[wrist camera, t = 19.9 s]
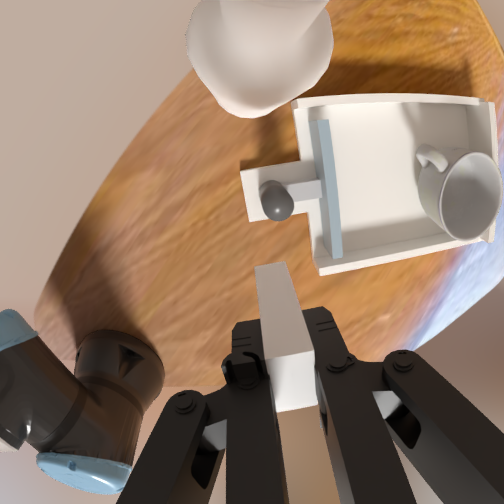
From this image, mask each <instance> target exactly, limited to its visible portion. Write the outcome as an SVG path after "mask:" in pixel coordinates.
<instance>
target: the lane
mask: <svg viewBox="0 0 504 504" xmlns="http://www.w3.org/2000/svg"><path fill="white" fill-rule="evenodd" d="M291 108H292V114H293V120H294V126H295V132H296V138H297V144H298V151H299V158H300V161H295V162H288V163H282V164H275V165H269V166H263V167H257V168H251V169H246V170H240V174H241V179H242V185H243V190H244V195H245V201H246V206H247V212H248V217H249V222H253V221H259V220H264V219H269V218H268V217H267V216H266V215H265V213H264V211H263V208H262V205H261V201H260V198H259V189H260V187H261V185H262V184H263V183H264V182H266V181H269V180H275V181H278V182H280V183H286V182H292V181H299V180H305V179H312V178H316V170H315V163H314V156H313V149H312V142H311V135H310V129H309V123H308V121H315V120H326V119H329V125H330V132H331V139H332V146H333V154H334V162H335V170H336V179H337V188H338V198H339V209H340V221H341V234H342V249H343V257H342V258H337V259H332V257H331V256H330V254H329V253H328V251H327V250H326V248H325V247H324V242H323V231H322V221H321V212H320V203H319V198H317V199H310V200H304V201H298V202H294V210H293V212H292V214H291V215H293V214H299V213H305V212H307V217H308V225H309V234H310V243H311V252H312V262H313V264H314V266H315V268H316V270H317V272H318V274H319V276H323V275H328V274H333V273H338V272H344V271H349V270H353V269H358V268H363V267H368V266H373V265H378V264H383V263H387V262H392V261H397V260H401V259H406V258H410V257H415V256H419V255H424V254H428V253H433V252H437V251H441V250H446V249H450V248H454V247H458V246H463V245H467V244H471V243H475V242H479V241H483V240H484V241H485V242H487V243H491V242H494V234H495V224H496V219H495V221H494V223H493V224H492V225H491V227H490V228H489V229H488V230H487V231H486V232H485V233H484V234H482V235H481V236H480V237H478V238H476V239H474V240H471V241H459V240H456V239H454V238H452V237H451V236H450V235H449V234H448V233H447V232H446V231H445V230H443V229H442V228H441V227H440V226H438V225H437V224H436V223H435V222H434V221H433V220H432V219H431V218H430V217H429V216H428V215H427V214H426V213H425V211H424V209H423V207H422V205H421V203H420V199H419V195H418V181H419V176H420V172H421V170H422V166H421V163H420V161H419V160H418V159H417V157H416V150H417V148H418V147H419V146H420V145H421V144H428V145H430V146H432V147H434V148H436V149H437V150H439V149H442V148H445V147H460V148H465V149H469V150H472V151H479V152H483V153H485V154H487V155H489V156H490V157H491V158H492V159H493V160H494V161H495V162H496V164H497V166H498V144H497V127H496V115H495V106H494V103H493V102H484V99H483V98H474V97H464V96H452V95H437V94H410V93H377V94H349V95H333V96H320V97H309V98H300V99H295V100H293V101H291Z"/></svg>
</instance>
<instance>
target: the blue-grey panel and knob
mask: <svg viewBox="0 0 504 504" xmlns="http://www.w3.org/2000/svg"><path fill="white" fill-rule="evenodd" d="M308 123H309V129H310V135H311V142H312V149H313V156H314V163H315V170H316V178H312V179H305V180H299V181H292V182H286V183H280V182H278V181H275V180H269V181H266V182H264V183H263V184H262V185H261V187H260V189H259V198H260V201H261V205H262V208H263V211H264V213H265V215H266V216H267V217H268V218H269V219H271V220H273V221H283V220H285V219H287V218H288V217H290V215H291V214H292V212H293V210H294V202H298V201H304V200H310V199H317V198H319V203H320V212H321V221H322V231H323V242H324V247H325V248H326V250H327V251H328V253H329V254H330V256H331V257H332V259H337V258H342V257H343V249H342V234H341V221H340V209H339V198H338V188H337V179H336V170H335V162H334V154H333V146H332V139H331V132H330V125H329V119H326V120H315V121H308Z"/></svg>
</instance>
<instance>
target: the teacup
mask: <svg viewBox="0 0 504 504" xmlns="http://www.w3.org/2000/svg"><path fill="white" fill-rule="evenodd" d="M416 157H417V159H418V160H419V161H420V163H421V166H422V170H421V172H420V176H419V181H418V195H419V199H420V203H421V205H422V207H423V209H424V211H425V213H426V214H427V215H428V216H429V217H430V218H431V219H432V220H433V221H434V222H435V223H436V224H437V225H438V226H440V227H441V228H442V229H443V230H445V231H446V232H447V233H448V234H449V235H450V236H451V237H452V238H454V239H456V240H459V241H471V240H474V239H476V238H478V237H480V236H481V235H482V234H484V233H485V232H486V231H487V230H488V229H489V228H490V227H491V225H492V224H493V223H494V221H495V219H496V217H497V215H498V213H499V210H500V207H501V203H502V198H503V181H502V176H501V172H500V170H499V168H498V166H497V164H496V162H495V161H494V160H493V159H492V158H491V157H490V156H489V155H487V154H485V153H483V152H479V151H472V150H469V149H465V148H460V147H445V148H442V149H439V150H437V149H436V148H434V147H432V146H430V145H428V144H421V145H420V146H419V147H418V148H417V150H416Z"/></svg>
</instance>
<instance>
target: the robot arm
mask: <svg viewBox="0 0 504 504" xmlns="http://www.w3.org/2000/svg"><path fill="white" fill-rule="evenodd" d="M254 269H255V277H256V286H257V295H258V304H259V312H260V319H256V320H250V321H243V322H237V324H236V325H235V327H234V328H233V330H232V353H231V354H229V355H228V356H227V357H226V358H225V359H224V360H223V362H222V365H221V368H222V371H223V374H224V377H225V380H226V382H227V384H226V385H225V386H224V387H223V388H221V389H220V390H217V391H215V392H213V393H210V394H207V395H204V396H203V395H202V394H201V393H200V392H197V391H194V390H184V391H182V392H178V393H176V394H175V395H173V396H172V397H171V398H170V399H169V400H168V402H167V403H166V405H165V407H164V409H163V411H162V413H161V415H160V417H159V419H158V421H157V423H156V425H155V427H154V429H153V431H152V432H151V435H150V436H149V438H148V440H147V443H146V444H145V446H144V448H143V450H142V452H141V454H140V457H139V458H138V460H137V462H136V464H135V466H134V468H133V470H132V464H133V460H134V455H135V450H136V446H137V441H138V437H139V432H140V428H141V424H142V420H143V415H144V413H145V412H146V411H147V409H148V408H149V406H150V405H151V404H152V402H153V401H154V400H155V399H156V398H157V397H158V395H159V394H160V392H161V390H162V387H163V382H164V378H165V373H164V368H163V365H162V363H161V361H160V359H159V358H158V356H157V355H156V354H155V353H154V352H153V351H152V350H151V349H150V348H149V347H148V346H147V345H146V344H144V343H143V342H141V341H140V340H138V339H136V338H134V337H132V336H130V335H128V334H125V333H122V332H118V331H113V330H100V331H96V332H93V333H91V334H89V335H88V336H86V337H85V338H84V340H83V341H82V343H81V345H80V346H79V348H78V350H77V353H76V363H75V369H74V375H73V374H72V373H71V372H70V371H69V370H68V369H67V368H66V367H65V366H64V364H63V363H62V362H61V361H60V360H59V359H58V358H57V357H56V356H55V355H54V353H53V352H52V351H51V350H50V349H49V348H48V347H47V345H46V344H45V343H44V342H43V341H42V340H41V338H40V337H39V336H38V332H37V331H34V330H33V329H32V328H31V327H30V326H29V325H28V323H27V322H26V321H25V320H24V318H23V317H22V316H21V315H20V314H19V313H18V312H17V311H15V310H12V309H6V310H3V311H2V312H0V453H1V452H17V451H18V450H19V448H20V447H21V445H22V444H23V443H24V441H27V442H28V443H29V444H30V445H32V446H33V447H34V448H35V449H36V450H37V451H38V452H39V453H38V454H37V456H36V458H37V460H36V462H37V465H38V467H39V468H41V470H42V471H43V472H45V473H46V474H47V475H49V476H50V477H52V478H54V479H55V480H58V481H59V482H62V483H64V484H66V485H68V486H71V487H74V488H77V489H80V490H83V491H87V492H91V493H97V494H116V493H119V492H121V491H122V492H121V495H120V496H119V498H118V500H117V502H116V504H208V502H209V499H210V497H211V494H212V490H213V487H214V484H215V481H216V478H217V475H218V472H219V469H220V465H221V462H222V459H223V456H224V453H225V448H226V504H289V497H288V490H287V482H286V475H285V468H284V460H283V453H282V445H281V438H280V430H279V424H278V419H277V413H276V412H282V411H287V410H293V409H299V408H304V407H309V406H314V405H317V404H318V403H319V408H320V428H323V431H324V435H325V439H326V443H327V447H328V451H329V455H330V460H331V464H332V468H333V472H334V477H335V480H336V485H337V489H338V493H339V497H340V502H341V504H417V503H416V500H415V497H414V495H413V492H412V489H411V487H410V484H409V481H408V479H407V476H406V473H405V471H404V468H403V466H402V463H401V460H400V458H399V455H398V453H397V450H396V448H395V446H394V443H393V440H394V442H395V443H396V444H397V445H398V447H399V448H400V449H401V451H402V452H403V453H404V454H405V456H406V457H407V458H408V459H409V461H410V462H411V463H412V464H413V466H414V467H415V468H416V470H417V471H418V472H419V473H420V475H421V476H422V477H423V478H424V480H425V481H426V482H427V483H428V485H429V486H430V487H431V488H432V489H433V491H434V492H435V493H436V495H437V496H438V497H439V498H440V500H441V501H442V502H443V503H444V504H504V434H503V433H502V432H501V431H500V430H499V429H498V428H497V427H496V426H495V425H494V424H493V423H492V422H491V421H490V420H489V419H488V418H487V417H486V416H484V414H483V413H481V412H480V411H479V410H478V409H477V408H476V407H475V406H474V405H473V404H472V403H471V402H470V401H469V400H468V399H467V398H465V397H464V396H463V395H462V394H461V393H460V392H459V391H458V390H457V389H456V388H455V387H453V386H452V385H451V384H450V383H449V382H448V381H447V380H446V379H445V378H444V377H443V376H441V375H440V374H439V373H438V372H437V371H436V370H435V369H434V368H433V367H431V366H430V365H429V364H428V363H427V362H426V361H425V360H424V359H422V358H421V357H420V356H419V355H418V354H416V353H415V352H413V351H409V350H397V351H394V352H391V353H390V354H388V355H387V356H386V357H385V359H384V361H383V362H364V361H360V360H358V359H357V358H356V357H355V356H354V355H353V354H351V353H349V351H348V349H347V347H346V345H345V342H344V340H343V338H342V336H341V334H340V331H339V329H338V328H337V325H336V323H335V321H334V318H333V316H332V314H331V312H330V311H328V310H327V309H326V308H324V307H323V306H321V307H316V308H311V309H306V310H301V307H300V304H299V301H298V298H297V295H296V292H295V289H294V286H293V283H292V280H291V277H290V274H289V271H288V268H287V265H286V262H285V261H283V262H277V263H271V264H266V265H260V266H255V267H254ZM317 400H318V402H317ZM392 439H393V440H392ZM131 471H132V472H131ZM130 472H131V474H130ZM129 474H130V476H129ZM128 477H129V478H128Z"/></svg>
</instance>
